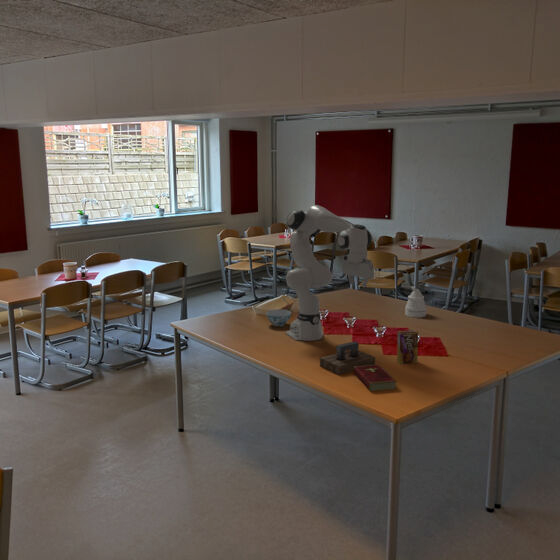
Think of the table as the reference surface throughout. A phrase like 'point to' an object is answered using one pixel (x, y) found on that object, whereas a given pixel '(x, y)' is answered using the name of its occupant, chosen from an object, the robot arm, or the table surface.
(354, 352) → the grey u-shaped block
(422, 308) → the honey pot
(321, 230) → the robot arm
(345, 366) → the wooden board with holes
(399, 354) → the candy box
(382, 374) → the hardcover book
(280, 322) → the chinaware
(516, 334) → the table surface
